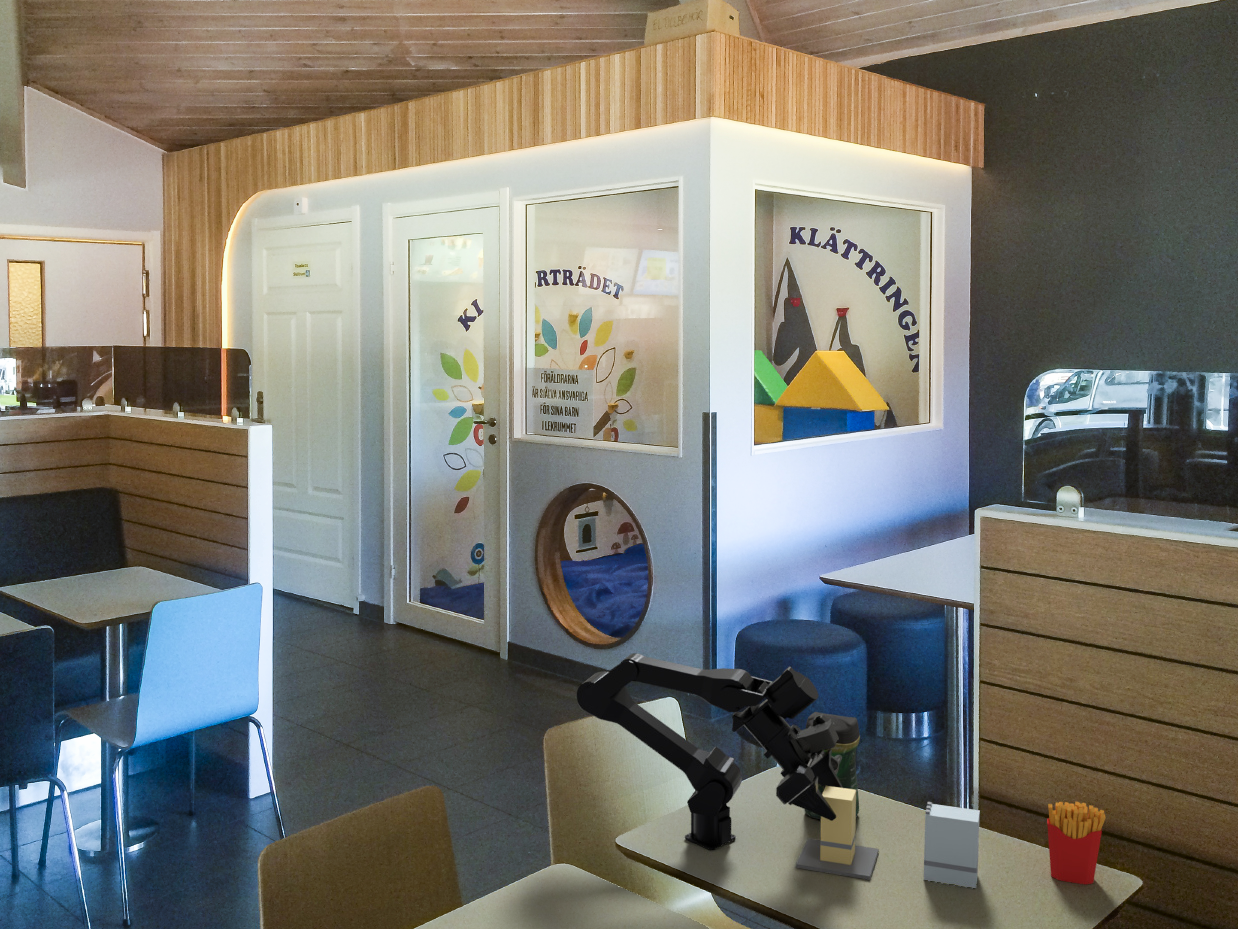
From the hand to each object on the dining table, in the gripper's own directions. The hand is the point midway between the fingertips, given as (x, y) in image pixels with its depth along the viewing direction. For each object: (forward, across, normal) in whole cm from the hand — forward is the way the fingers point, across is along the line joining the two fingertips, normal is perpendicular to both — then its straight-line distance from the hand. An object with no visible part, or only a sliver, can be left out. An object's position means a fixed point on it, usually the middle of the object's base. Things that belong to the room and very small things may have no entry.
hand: (839, 807), depth 183 cm
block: (+6, 0, +6) cm, 9 cm away
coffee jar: (+4, +17, +10) cm, 20 cm away
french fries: (+32, +7, -19) cm, 38 cm away
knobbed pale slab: (+19, 0, -6) cm, 20 cm away
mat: (+6, 0, +6) cm, 9 cm away
